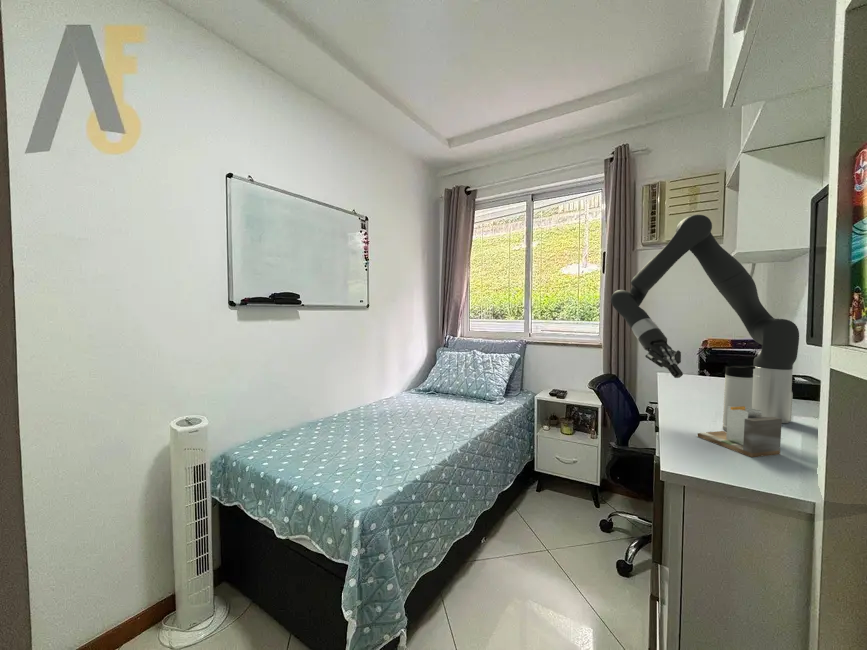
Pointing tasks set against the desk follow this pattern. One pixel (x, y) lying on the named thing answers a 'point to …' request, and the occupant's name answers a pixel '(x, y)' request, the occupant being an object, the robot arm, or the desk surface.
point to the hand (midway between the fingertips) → (679, 376)
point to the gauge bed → (752, 437)
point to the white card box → (739, 422)
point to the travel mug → (737, 388)
